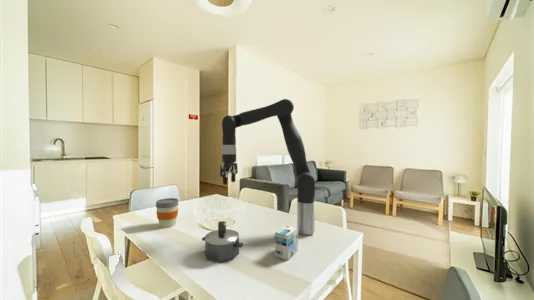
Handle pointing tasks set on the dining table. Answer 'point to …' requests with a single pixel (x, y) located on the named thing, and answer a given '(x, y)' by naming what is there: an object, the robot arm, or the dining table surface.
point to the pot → (222, 251)
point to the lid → (221, 236)
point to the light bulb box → (286, 242)
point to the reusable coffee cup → (167, 212)
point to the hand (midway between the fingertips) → (229, 183)
